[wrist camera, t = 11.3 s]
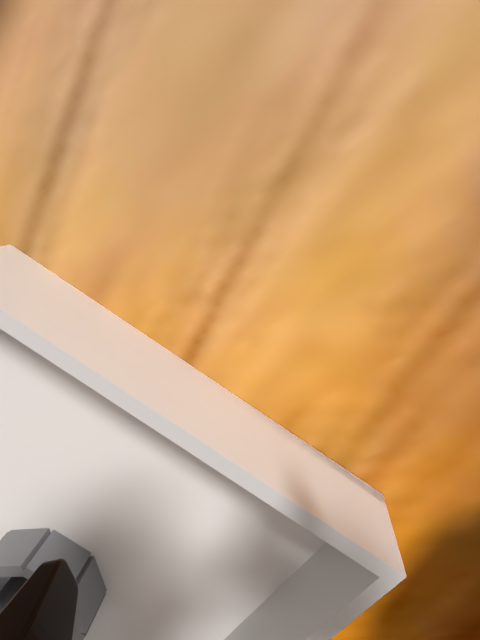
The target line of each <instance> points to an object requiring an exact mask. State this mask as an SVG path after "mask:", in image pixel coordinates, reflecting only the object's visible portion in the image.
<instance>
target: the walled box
mask: <svg viewBox="0 0 480 640" xmlns="http://www.w3.org/2000/svg"><path fill="white" fill-rule="evenodd" d="M58 558H63V559H65V560H66V561H67V563H68V565H69V567H70V569H71V571H72V573H73V575H74V577H75V579H76V581H77V584H78V599H77V606H76V614H75V621H74V629H73V636H72V640H330V639H331V638H333V637H334V636H335V635H336V634H337V633H339V632H340V631H341V630H342V629H343V628H345V627H346V626H347V625H348V624H350V623H351V622H352V621H353V620H354V619H356V618H357V617H358V616H359V615H361V614H362V613H363V612H364V611H365V610H367V609H368V608H369V607H370V606H372V605H373V604H374V603H375V602H376V601H378V600H379V599H380V598H381V597H383V596H384V595H385V594H386V593H387V592H389V591H390V590H391V589H392V588H394V587H395V586H396V585H397V584H398V583H400V582H401V581H402V580H403V579H405V578H406V577H407V576H406V572H405V569H404V565H403V562H402V558H401V555H400V551H399V548H398V544H397V541H396V538H395V534H394V531H393V527H392V524H391V520H390V517H389V513H388V510H387V506H386V503H385V500H384V496H383V494H382V493H380V492H379V491H377V490H376V489H374V488H373V487H371V486H370V485H368V484H367V483H366V482H364V481H363V480H361V479H360V478H358V477H357V476H355V475H354V474H352V473H351V472H349V471H348V470H346V469H345V468H343V467H342V466H340V465H339V464H337V463H336V462H334V461H333V460H331V459H330V458H328V457H327V456H325V455H324V454H322V453H321V452H319V451H318V450H316V449H315V448H313V447H312V446H310V445H309V444H307V443H306V442H304V441H303V440H301V439H300V438H298V437H297V436H295V435H294V434H292V433H291V432H289V431H288V430H287V429H285V428H284V427H282V426H281V425H279V424H278V423H276V422H275V421H273V420H272V419H270V418H269V417H267V416H266V415H264V414H263V413H261V412H260V411H258V410H257V409H255V408H254V407H252V406H251V405H249V404H248V403H246V402H245V401H243V400H242V399H240V398H239V397H237V396H236V395H234V394H233V393H231V392H230V391H228V390H227V389H225V388H224V387H222V386H221V385H219V384H218V383H216V382H215V381H213V380H212V379H210V378H209V377H208V376H206V375H205V374H203V373H202V372H200V371H199V370H197V369H196V368H194V367H193V366H191V365H190V364H188V363H187V362H185V361H184V360H182V359H181V358H179V357H178V356H176V355H175V354H173V353H172V352H170V351H169V350H167V349H166V348H164V347H163V346H161V345H160V344H158V343H157V342H155V341H154V340H152V339H151V338H149V337H148V336H146V335H145V334H143V333H142V332H140V331H139V330H137V329H136V328H134V327H133V326H131V325H130V324H129V323H127V322H126V321H124V320H123V319H121V318H120V317H118V316H117V315H115V314H114V313H112V312H111V311H109V310H108V309H106V308H105V307H103V306H102V305H100V304H99V303H97V302H96V301H94V300H93V299H91V298H90V297H88V296H87V295H85V294H84V293H82V292H81V291H79V290H78V289H76V288H75V287H73V286H72V285H70V284H69V283H67V282H66V281H64V280H63V279H61V278H60V277H58V276H57V275H55V274H54V273H52V272H51V271H50V270H48V269H47V268H45V267H44V266H42V265H41V264H39V263H38V262H36V261H35V260H33V259H32V258H30V257H29V256H27V255H26V254H24V253H23V252H21V251H20V250H18V249H17V248H15V247H14V246H12V245H5V246H0V591H1V589H2V588H3V587H4V585H5V584H6V583H7V581H8V580H9V579H10V577H24V578H26V579H29V578H30V576H31V575H32V574H33V573H34V572H35V570H36V569H37V568H38V567H39V566H40V565H41V564H42V563H43V562H45V561H48V560H53V559H58Z"/></svg>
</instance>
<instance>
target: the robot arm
mask: <svg viewBox="0 0 480 640" xmlns="http://www.w3.org/2000/svg"><path fill="white" fill-rule="evenodd" d="M77 599H78V584H77V581H76V579H75V577H74V575H73V573H72V571H71V569H70V567H69V565H68V563H67V561H66V560H65V559H63V558H58V559H53V560H48V561H45V562H43V563H42V564H41V565H40V566H39V567H38V568H37V569H36V570H35V572H34V573H33V574H32V575H31V576H30V578H29V579H28V580H27V581H26V582H25V584H24V585H23V586H22V587H21V589H20V590H19V591H18V592H17V593H16V595H15V596H14V597H13V598H12V599H11V601H10V602H9V603H8V604H7V606H6V607H5V608H4V609H3V610H2V612H1V613H0V640H72V636H73V629H74V621H75V614H76V606H77Z"/></svg>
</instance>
